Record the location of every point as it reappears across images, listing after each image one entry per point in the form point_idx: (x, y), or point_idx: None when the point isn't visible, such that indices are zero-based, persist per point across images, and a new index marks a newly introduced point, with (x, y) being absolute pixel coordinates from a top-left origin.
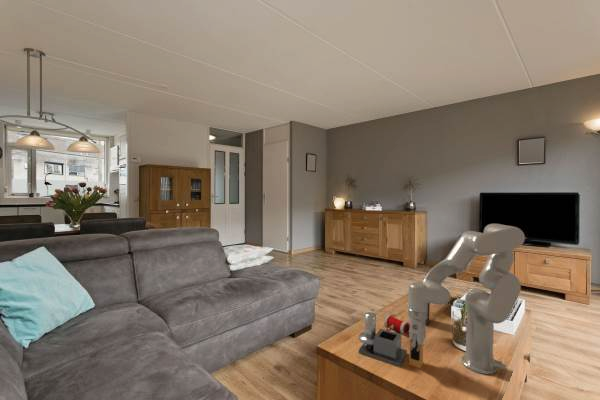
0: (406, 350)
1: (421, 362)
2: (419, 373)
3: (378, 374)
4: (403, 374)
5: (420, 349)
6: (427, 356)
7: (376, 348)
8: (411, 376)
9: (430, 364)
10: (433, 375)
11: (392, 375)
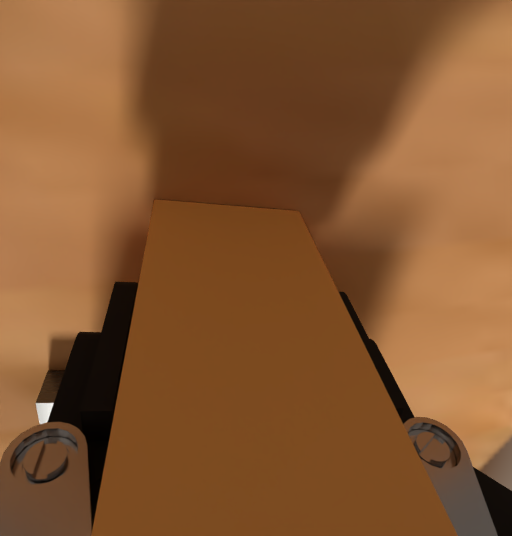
0: (49, 406)
1: (272, 237)
2: (407, 214)
3: (493, 450)
4: (461, 334)
5: (388, 424)
6: None
7: None
8: (479, 275)
9: (122, 95)
10: (405, 44)
11: (491, 390)
